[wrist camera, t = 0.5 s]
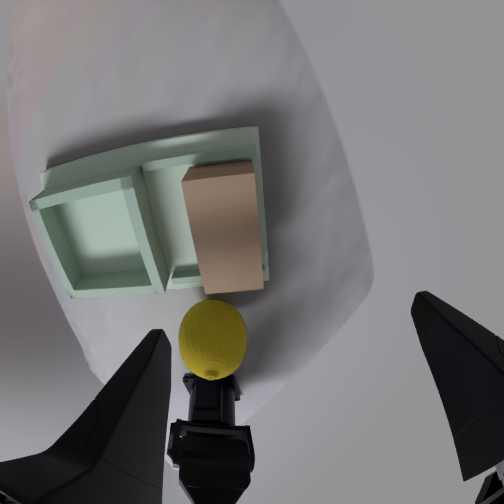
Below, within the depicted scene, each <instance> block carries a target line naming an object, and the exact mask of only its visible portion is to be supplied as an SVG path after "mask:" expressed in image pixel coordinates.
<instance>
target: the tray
mask: <svg viewBox="0 0 504 504" xmlns="http://www.w3.org/2000/svg"><path fill="white" fill-rule="evenodd" d="M242 160H252V163H253V168H254V173H255V185H256V197H257V209H258V221H259V233H260V245H261V258H262V271H263V281H269V267H268V251H267V235H266V221H265V206H264V192H263V179H262V166H261V153H260V140H259V128H258V126H248V127H238V128H228V129H220V130H212V131H205V132H198V133H191V134H185V135H179V136H173V137H167V138H162V139H157V140H152V141H147V142H142V143H138V144H133V145H129V146H124V147H120V148H116V149H112V150H108V151H105V152H101V153H97V154H93V155H90V156H86V157H83V158H80V159H76V160H73V161H70V162H67V163H64V164H61V165H58V166H55V167H52V168H49V169H46V170H44V171H43V172H41V173H39V176H40V179H41V183H42V186H43V189H44V191H42V192H41V193H40V194H38V195H37V196H36V197H34V198H33V199H32V200H30V201H29V204H30V207H31V210H32V212H33V215H34V218H35V221H36V223H37V226H38V228H39V231H40V233H41V236H42V238H43V241H44V243H45V245H46V248H47V250H48V252H49V255H50V257H51V259H52V261H53V263H54V265H55V267H56V270H57V272H58V274H59V276H60V278H61V280H62V282H63V284H64V286H65V287H66V289H67V291H68V293H69V295H70V297H71V298H81V297H105V296H125V295H142V294H158V293H165V291H166V289H180V288H193V287H203V283H202V278H201V274H200V270H199V266H198V261H197V257H196V253H195V248H194V243H193V239H192V234H191V230H190V225H189V220H188V215H187V210H186V205H185V200H184V195H183V190H182V185H181V181H182V179H183V177H184V175H185V174H186V172H187V170H188V168H189V167H192V166H199V165H207V164H215V163H223V162H232V161H242Z"/></svg>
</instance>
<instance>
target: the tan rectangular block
mask: <svg viewBox="0 0 504 504" xmlns="http://www.w3.org/2000/svg"><path fill="white" fill-rule="evenodd" d="M181 185H182V190H183V195H184V200H185V205H186V210H187V215H188V220H189V225H190V230H191V234H192V239H193V243H194V248H195V253H196V257H197V261H198V266H199V270H200V274H201V278H202V283H203V287H204V291H205V294H214V293H226V292H237V291H248V290H258V289H264V284H263V271H262V258H261V245H260V233H259V221H258V209H257V197H256V185H255V173H254V168H253V163H252V160H242V161H232V162H223V163H215V164H207V165H199V166H192V167H189V168H188V170H187V172H186V174H185V175H184V177H183V179H182V181H181Z"/></svg>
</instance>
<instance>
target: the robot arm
mask: <svg viewBox="0 0 504 504" xmlns="http://www.w3.org/2000/svg"><path fill="white" fill-rule="evenodd" d="M411 315H412V318H413V321H414V325H415V328H416V330H417V334H418V337H419V340H420V344H421V347H422V350H423V352H424V355H425V357H426V360H427V362H428V365H429V367H430V370H431V372H432V375H433V378H434V380H435V383H436V386H437V388H438V391H439V394H440V397H441V400H442V403H443V406H444V409H445V412H446V415H447V419H448V422H449V425H450V429H451V432H452V436H453V438H454V439H453V440H454V444H455V447H456V451H457V455H458V459H459V464H460V468H461V472H462V477H463V481H466V480H469V479H471V478H473V477H475V476H476V475H479V474H481V473H482V472H484V471H486V470H488V469H490V468H492V467H493V466H495V467H496V470H495V471H494V472H492V473H491V474H490V475H488V476H487V477H486V478H485V480H484V483H483V485H482V488H481V490H480V492H479V494H478V497H477V499H476V501H475V504H504V340H502V339H501V338H500V337H498V336H495V334H494V333H492V332H491V331H489V330H488V329H486V328H485V327H483V326H482V325H480V324H478V323H477V322H475V321H474V320H473V319H471V318H469V317H468V316H466V315H465V314H463V313H462V312H460V311H459V310H457V309H455V308H454V307H452V306H451V305H449V304H447V303H446V302H444V301H443V300H441V299H439V298H438V297H436V296H434V295H433V294H431V293H429V292H428V291H421V292H418V293H416V295H415V298H414V301H413V304H412V307H411ZM183 383H184V384H185V386H186V388H187V390H188V392H189V394H190V401H189V413H188V421H184V420H181V419H177V421H176V422H175V423H171V426H170V436H169V442H168V449H167V455H168V456H169V457H170V458H171V461H172V462H173V467H176V468H179V484H180V486H181V487H182V489H183V490H184V492H185V494H186V495H187V497H188V498H189V500H190V501H191V503H192V504H236V502H237V501H238V499H239V498H240V497H241V495H242V494H243V492H244V491H245V489H247V487H248V486H249V484H250V481H251V479H250V473H251V472H252V471H253V469H254V463H255V455H254V448H253V442H252V436H251V431H250V426H248V425H245V426H235V401H239V400H240V395H239V391H238V387H237V384H236V380H235V376H233V375H228V376H226V377H224V378H221V379H214V380H208V379H205V378H202V377H200V376H185V377H183ZM170 393H171V344H170V342H169V340H168V338H167V336H166V334H165V332H164V330H163V329H152V330H151V331H150V332H149V333H148V334H147V335H146V336H145V338H144V339H143V340H142V341H141V342H140V343H139V345H138V346H137V347H136V348H135V349H134V351H133V352H132V353H131V354H130V356H129V357H128V358H127V359H126V360H125V362H124V363H123V364H122V365H121V366H120V368H119V369H118V370H117V371H116V373H115V374H114V375H113V376H112V377H111V379H110V380H109V381H108V382H107V384H106V385H105V386H104V387H103V389H102V390H101V391H100V392H99V394H98V395H97V396H96V397H95V400H93V401H92V402H91V403H90V405H89V406H88V407H87V409H86V410H85V411H84V412H83V413H82V414H81V416H80V417H79V418H78V419H77V420H76V421H75V422H74V423H73V424H72V425H71V426H70V427H69V428H68V429H67V430H66V432H65V433H64V434H63V435H62V436H61V437H60V438H59V439H58V440H57V441H56V442H55V443H54V444H53V445H52V446H51V447H50V448H48V449H47V450H45V451H43V452H41V453H38V454H35V455H31V456H27V457H23V458H18V459H14V460H9V461H4V462H0V504H162V487H163V486H162V485H163V469H164V454H165V442H166V431H167V420H168V411H169V401H170ZM180 436H182V437H180Z"/></svg>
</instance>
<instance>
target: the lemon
mask: <svg viewBox="0 0 504 504" xmlns="http://www.w3.org/2000/svg"><path fill="white" fill-rule="evenodd" d="M246 346H247V331H246V326H245V323H244V321H243V318H242V316H241V315H240V313H239V312H238V311H237V310H236V309H235V308H234V307H233V306H232V305H230V304H229V303H227V302H224V301H221V300H217V299H209V300H204V301H201V302H199V303H197V304H195V305H194V306H193V307H191V308H190V309H189V311H188V312H187V313H186V314H185V316H184V318H183V320H182V323H181V326H180V330H179V349H180V354H181V357H182V360H183V362H184V363H185V365H186V366H187V367H188V369H189V370H190V371H191V372H193V373H194V374H196V375H197V376H200V377H202V378H205V379H208V380H214V379H221V378H224V377H226V376H228V375H230V374H232V373H233V372H234V371H235V370H236V369H237V368H238V367H239V366H240V364H241V362H242V360H243V357H244V355H245V351H246Z"/></svg>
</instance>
